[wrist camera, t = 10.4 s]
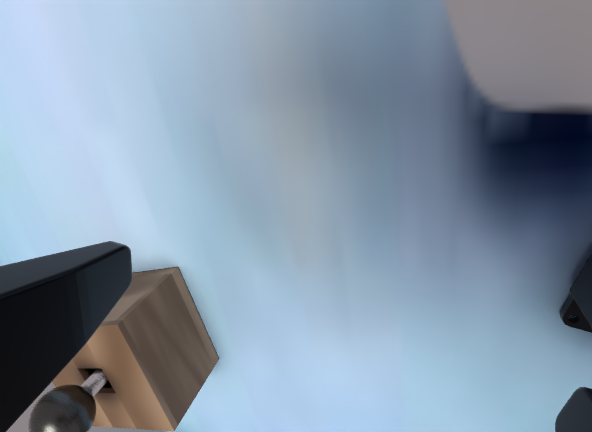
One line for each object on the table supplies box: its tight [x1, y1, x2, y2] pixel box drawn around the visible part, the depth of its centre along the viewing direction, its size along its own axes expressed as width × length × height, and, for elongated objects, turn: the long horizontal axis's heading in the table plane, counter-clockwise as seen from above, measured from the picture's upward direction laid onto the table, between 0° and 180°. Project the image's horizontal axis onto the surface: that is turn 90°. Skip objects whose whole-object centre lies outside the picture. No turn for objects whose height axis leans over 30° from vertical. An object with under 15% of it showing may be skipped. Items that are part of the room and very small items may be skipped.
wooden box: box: [52, 267, 219, 431], centre depth 26 cm, size 8×8×6 cm
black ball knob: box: [28, 368, 108, 432], centre depth 24 cm, size 6×6×9 cm
